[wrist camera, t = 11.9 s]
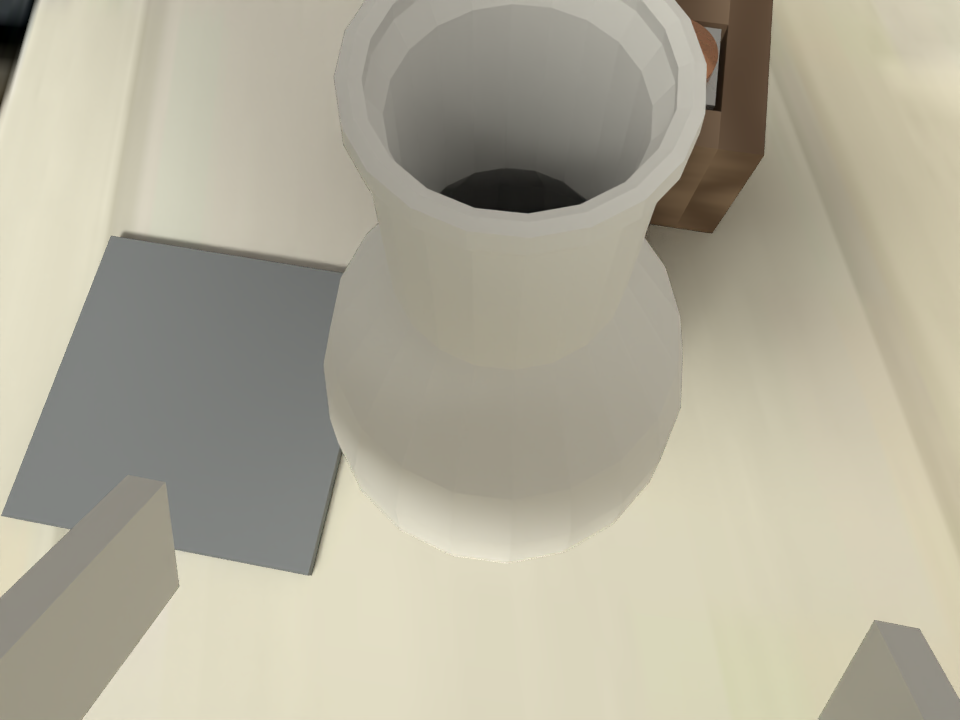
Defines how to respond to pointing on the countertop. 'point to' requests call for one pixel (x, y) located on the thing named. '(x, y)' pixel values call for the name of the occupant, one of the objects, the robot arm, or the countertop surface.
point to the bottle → (511, 264)
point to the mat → (195, 403)
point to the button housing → (725, 116)
